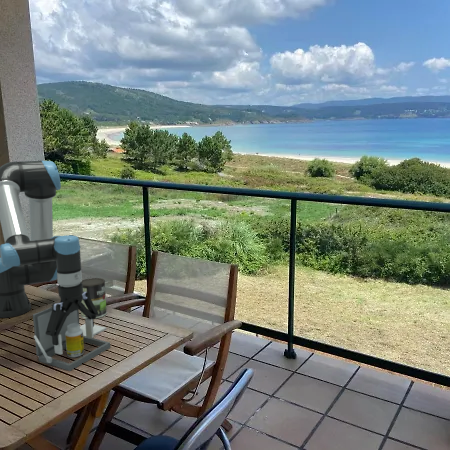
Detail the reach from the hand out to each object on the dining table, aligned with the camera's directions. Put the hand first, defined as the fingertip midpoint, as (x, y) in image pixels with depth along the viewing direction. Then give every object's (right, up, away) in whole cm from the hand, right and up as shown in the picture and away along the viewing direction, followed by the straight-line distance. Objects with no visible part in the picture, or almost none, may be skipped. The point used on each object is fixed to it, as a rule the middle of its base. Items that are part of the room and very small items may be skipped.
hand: (75, 344), depth 147 cm
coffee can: (-4, +3, +35) cm, 35 cm away
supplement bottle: (0, -3, +1) cm, 4 cm away
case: (0, -3, +1) cm, 3 cm away
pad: (-2, 0, +18) cm, 18 cm away
